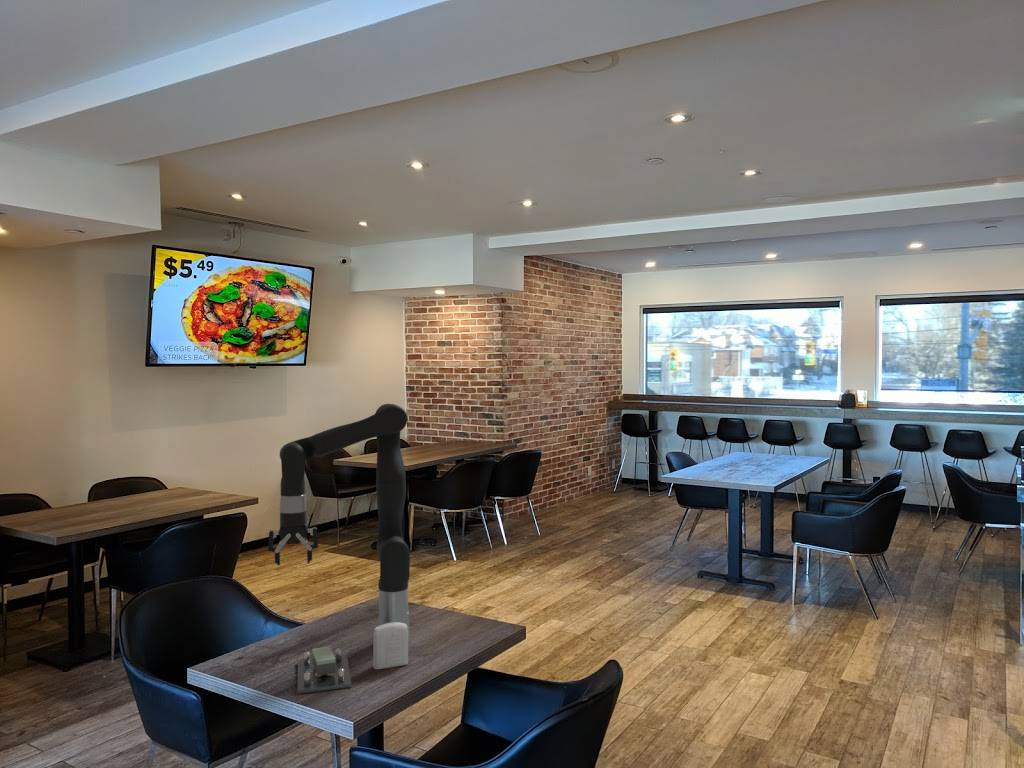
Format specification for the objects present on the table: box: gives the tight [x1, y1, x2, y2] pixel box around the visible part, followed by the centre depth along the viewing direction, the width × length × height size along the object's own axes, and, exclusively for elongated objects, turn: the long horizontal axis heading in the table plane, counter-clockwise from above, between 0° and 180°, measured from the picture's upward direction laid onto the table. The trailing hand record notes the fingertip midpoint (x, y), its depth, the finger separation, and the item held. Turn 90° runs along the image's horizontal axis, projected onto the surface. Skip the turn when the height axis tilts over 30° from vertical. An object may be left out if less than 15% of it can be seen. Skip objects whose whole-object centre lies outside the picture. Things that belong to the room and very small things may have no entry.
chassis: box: [296, 647, 352, 695], centre depth 203 cm, size 14×21×4 cm, turn 16°
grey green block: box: [311, 645, 336, 676], centre depth 203 cm, size 5×10×4 cm, turn 23°
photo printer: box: [372, 622, 409, 670], centre depth 209 cm, size 10×4×12 cm, turn 115°
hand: (293, 563), depth 216 cm, fingers open, 8 cm apart
